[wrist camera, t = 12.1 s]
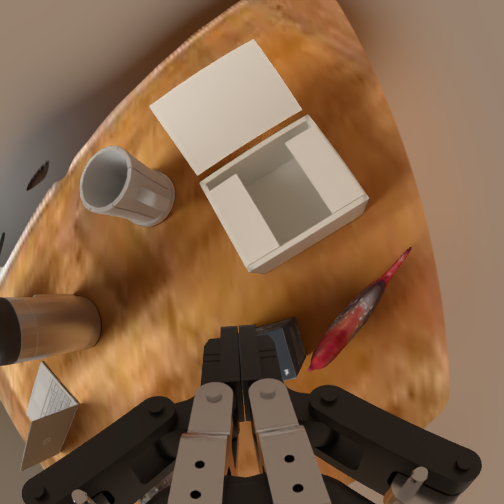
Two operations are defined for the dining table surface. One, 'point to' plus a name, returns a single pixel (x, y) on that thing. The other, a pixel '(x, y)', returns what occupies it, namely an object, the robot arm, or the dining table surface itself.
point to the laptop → (47, 418)
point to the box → (285, 346)
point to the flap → (225, 106)
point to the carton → (284, 195)
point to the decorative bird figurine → (351, 319)
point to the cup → (126, 188)
